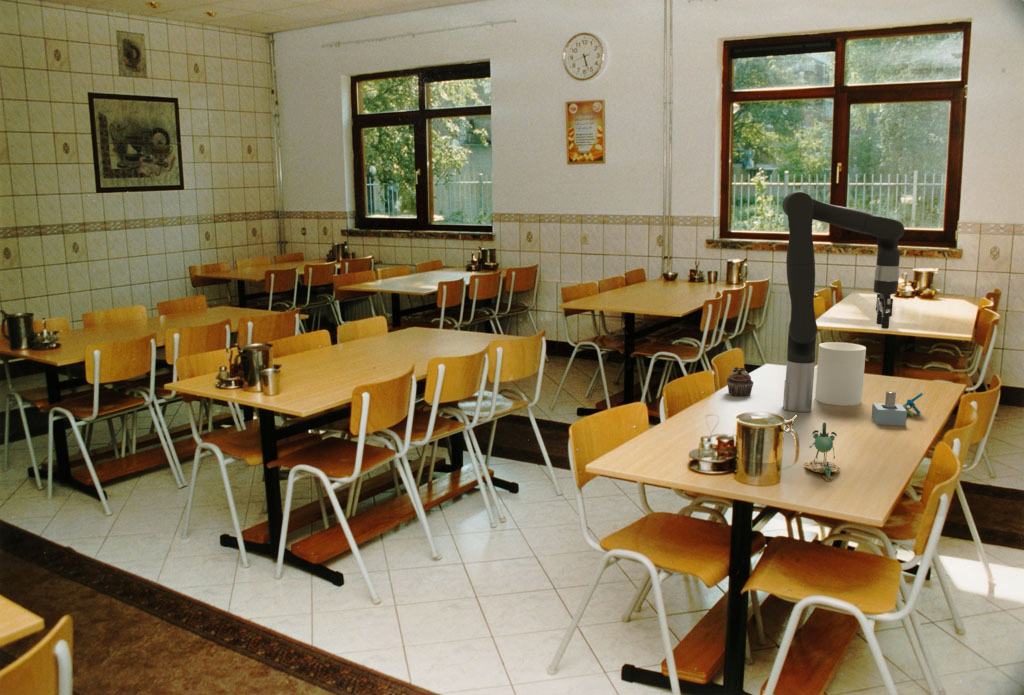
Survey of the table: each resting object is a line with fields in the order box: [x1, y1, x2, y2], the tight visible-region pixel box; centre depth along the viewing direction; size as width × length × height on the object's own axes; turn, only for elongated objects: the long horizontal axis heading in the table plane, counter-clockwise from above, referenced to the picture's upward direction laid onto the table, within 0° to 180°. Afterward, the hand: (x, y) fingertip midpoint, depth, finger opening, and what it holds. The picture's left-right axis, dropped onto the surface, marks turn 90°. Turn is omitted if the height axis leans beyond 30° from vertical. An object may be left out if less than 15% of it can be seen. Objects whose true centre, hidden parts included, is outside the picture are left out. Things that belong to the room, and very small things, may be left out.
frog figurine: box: [803, 421, 841, 482], centre depth 245 cm, size 10×18×15 cm, turn 157°
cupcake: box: [726, 366, 754, 398], centre depth 331 cm, size 10×10×10 cm
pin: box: [884, 390, 897, 409], centre depth 295 cm, size 3×3×10 cm
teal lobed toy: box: [902, 392, 924, 417], centre depth 305 cm, size 11×6×10 cm
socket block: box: [870, 402, 908, 427], centre depth 295 cm, size 9×9×5 cm
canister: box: [814, 341, 867, 407], centre depth 322 cm, size 16×16×20 cm
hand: (882, 326), depth 302 cm, fingers open, 8 cm apart
